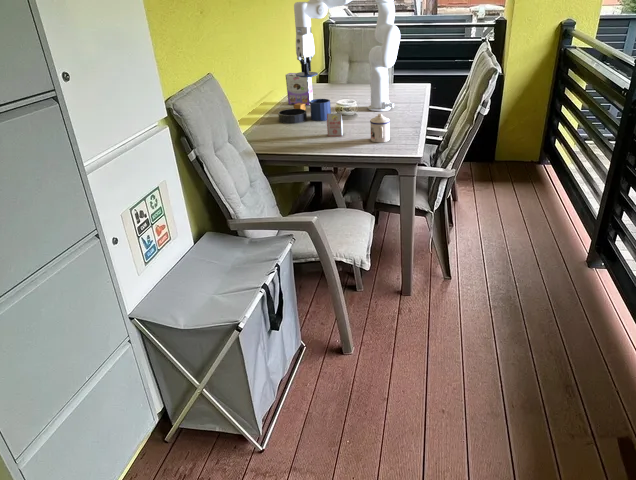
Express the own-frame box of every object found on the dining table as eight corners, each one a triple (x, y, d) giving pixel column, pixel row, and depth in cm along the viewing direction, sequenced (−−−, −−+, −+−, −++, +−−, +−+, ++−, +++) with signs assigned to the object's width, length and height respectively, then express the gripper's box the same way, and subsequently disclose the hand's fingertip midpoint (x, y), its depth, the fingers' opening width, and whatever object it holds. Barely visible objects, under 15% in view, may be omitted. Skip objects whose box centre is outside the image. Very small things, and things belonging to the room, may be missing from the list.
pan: (312, 118, 282) (311, 110, 280) (295, 124, 272) (295, 116, 270) (290, 115, 289) (289, 107, 287) (273, 121, 278) (272, 113, 276)
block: (305, 111, 294) (305, 103, 291) (301, 113, 291) (300, 105, 288) (299, 111, 296) (298, 102, 293) (294, 112, 293) (293, 104, 290)
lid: (322, 74, 271) (321, 61, 267) (309, 78, 263) (308, 65, 259) (304, 73, 276) (303, 60, 272) (291, 77, 268) (289, 64, 264)
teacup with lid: (369, 137, 249) (369, 111, 242) (388, 136, 249) (389, 111, 243) (371, 145, 239) (371, 118, 232) (391, 144, 239) (392, 117, 233)
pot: (334, 117, 282) (333, 99, 278) (323, 121, 275) (322, 104, 270) (318, 115, 287) (317, 97, 282) (307, 119, 280) (305, 102, 275)
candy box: (313, 103, 311) (311, 73, 302) (309, 105, 306) (307, 75, 298) (292, 102, 315) (289, 72, 306) (287, 104, 310) (285, 74, 302)
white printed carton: (328, 134, 256) (327, 112, 250) (342, 134, 255) (341, 112, 250) (327, 136, 253) (326, 114, 247) (341, 136, 252) (340, 114, 247)
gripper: (300, 33, 251) (303, 75, 261) (319, 29, 262) (321, 69, 272) (287, 32, 254) (290, 73, 264) (306, 28, 266) (309, 68, 276)
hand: (306, 71), depth 268 cm, fingers closed on lid, 2 cm apart
